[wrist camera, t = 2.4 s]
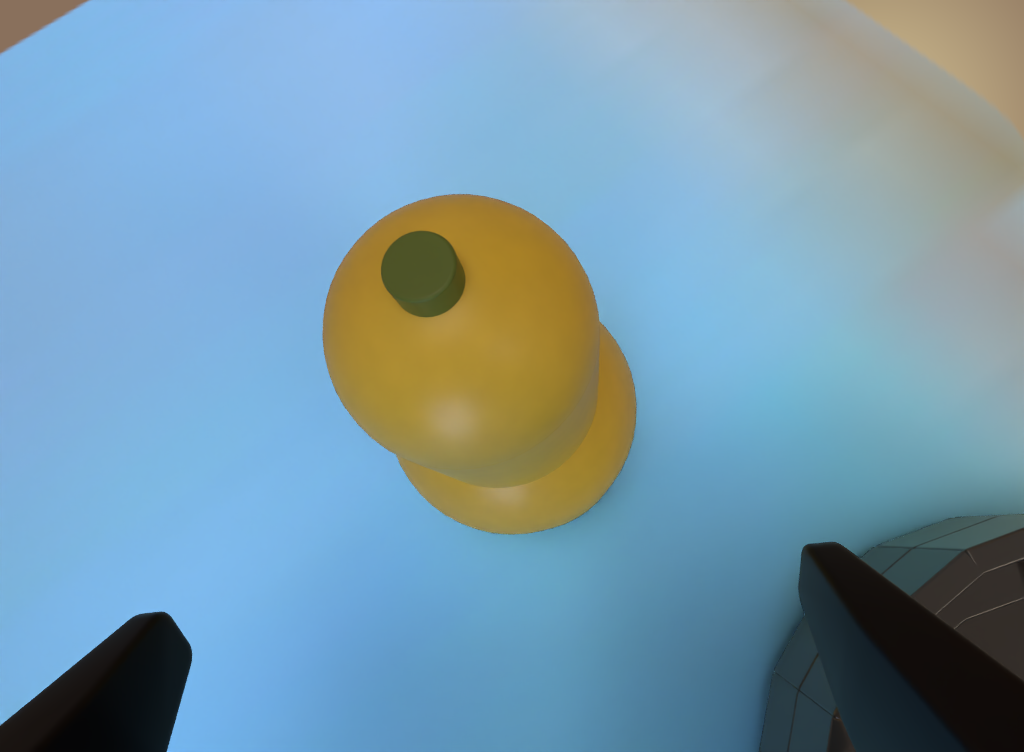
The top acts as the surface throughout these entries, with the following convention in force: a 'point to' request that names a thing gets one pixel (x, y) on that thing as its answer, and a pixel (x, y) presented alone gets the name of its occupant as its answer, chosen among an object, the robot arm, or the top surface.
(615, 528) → the top surface
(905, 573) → the black metal bowl
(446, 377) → the squash
